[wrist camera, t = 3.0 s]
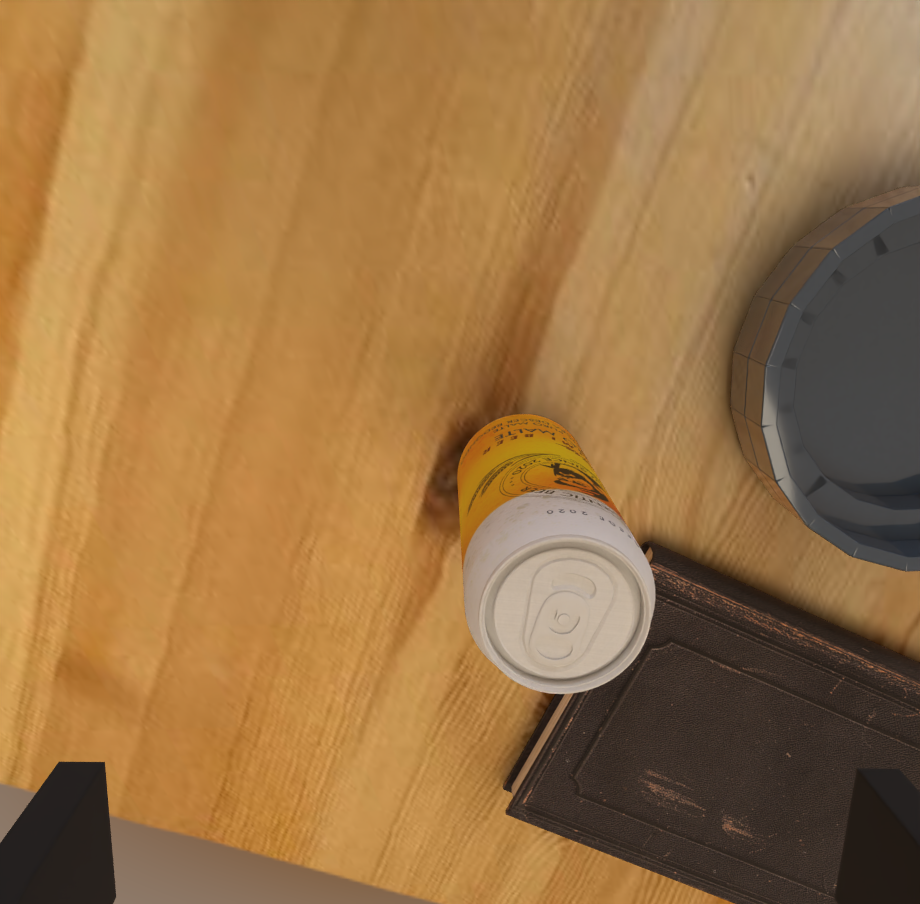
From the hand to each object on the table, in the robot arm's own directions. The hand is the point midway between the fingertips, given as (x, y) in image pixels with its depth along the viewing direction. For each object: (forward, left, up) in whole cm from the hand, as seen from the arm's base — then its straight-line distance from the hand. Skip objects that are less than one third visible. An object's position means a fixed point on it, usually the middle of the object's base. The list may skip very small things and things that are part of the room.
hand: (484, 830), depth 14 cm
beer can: (+3, +1, -26) cm, 26 cm away
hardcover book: (+23, -5, -26) cm, 35 cm away
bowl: (+15, +15, -26) cm, 33 cm away
